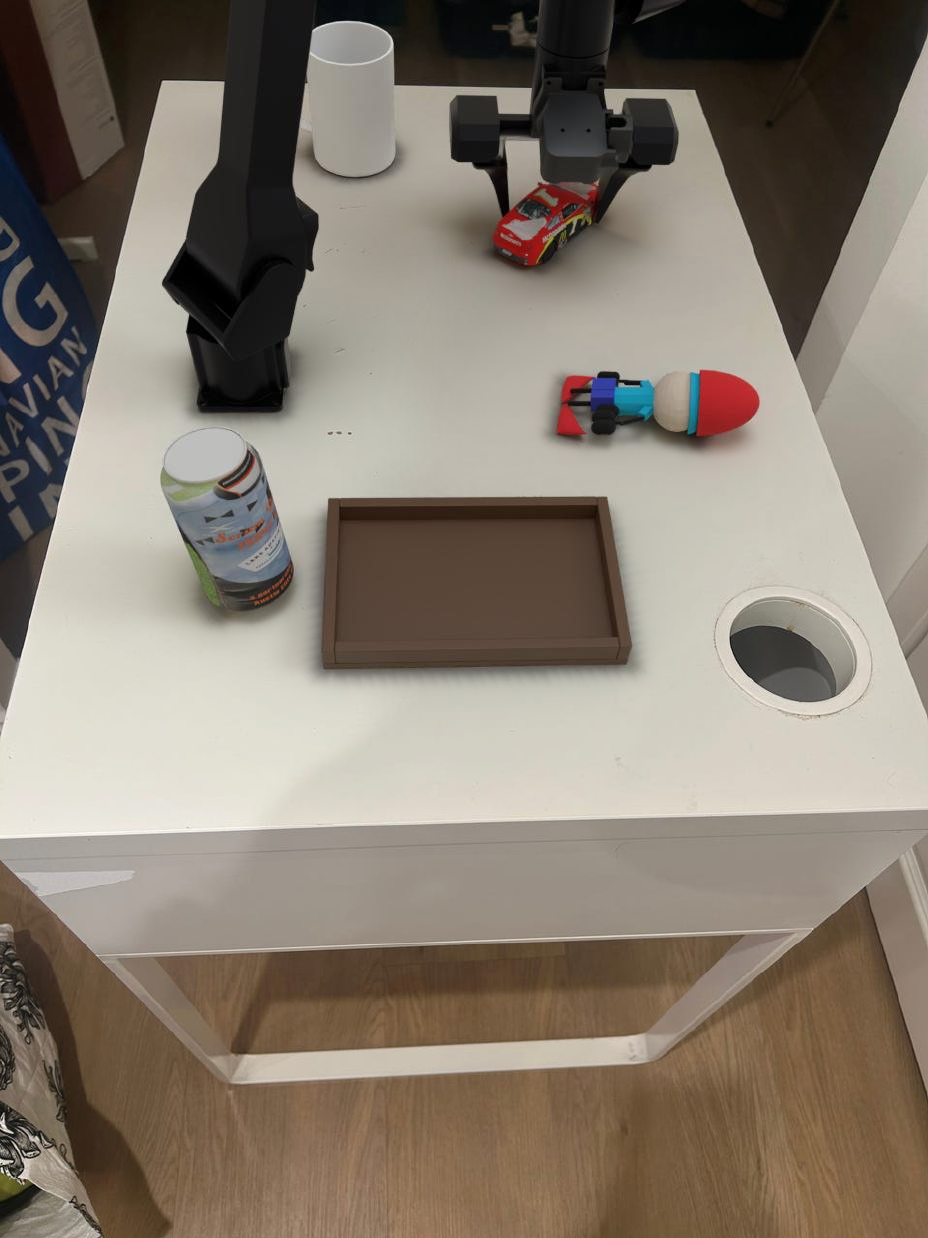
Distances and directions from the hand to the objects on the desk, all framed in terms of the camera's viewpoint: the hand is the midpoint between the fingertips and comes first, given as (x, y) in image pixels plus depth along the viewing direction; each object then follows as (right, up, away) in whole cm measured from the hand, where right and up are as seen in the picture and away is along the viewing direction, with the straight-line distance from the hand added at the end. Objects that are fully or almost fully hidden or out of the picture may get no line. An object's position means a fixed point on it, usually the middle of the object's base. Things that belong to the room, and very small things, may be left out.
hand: (550, 220), depth 88 cm
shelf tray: (-7, -34, -22) cm, 41 cm away
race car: (0, -1, +1) cm, 1 cm away
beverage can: (-23, -34, -22) cm, 46 cm away
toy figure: (+7, -21, -12) cm, 25 cm away
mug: (-21, +9, +7) cm, 23 cm away
